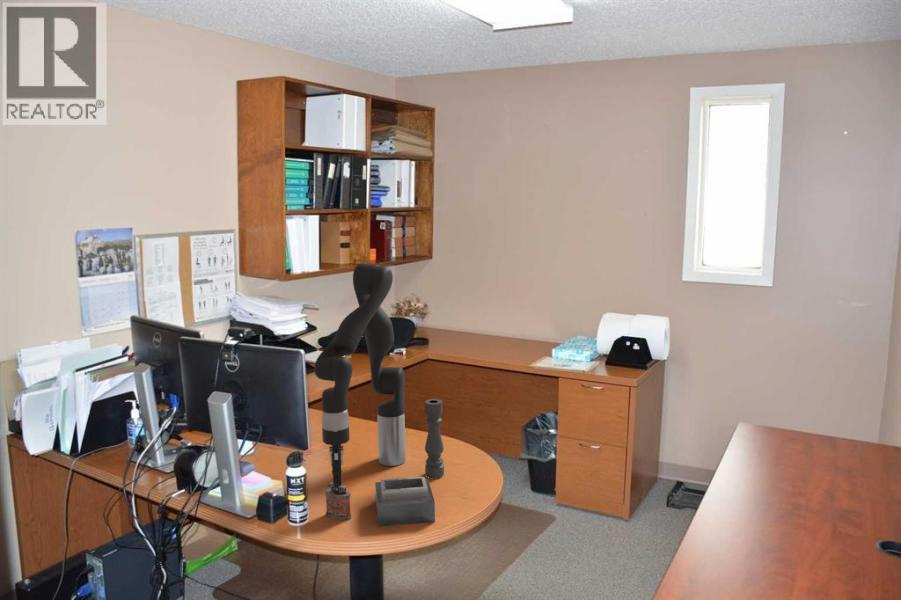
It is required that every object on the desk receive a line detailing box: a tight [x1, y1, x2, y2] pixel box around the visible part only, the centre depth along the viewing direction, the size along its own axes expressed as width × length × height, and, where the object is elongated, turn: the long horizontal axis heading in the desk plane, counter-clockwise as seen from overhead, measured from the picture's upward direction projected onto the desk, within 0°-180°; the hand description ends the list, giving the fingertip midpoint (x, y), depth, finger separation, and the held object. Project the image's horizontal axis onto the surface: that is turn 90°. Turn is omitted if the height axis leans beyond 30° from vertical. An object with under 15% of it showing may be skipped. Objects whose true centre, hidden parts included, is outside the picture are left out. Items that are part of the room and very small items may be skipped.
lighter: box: [324, 481, 352, 521], centre depth 203 cm, size 8×3×10 cm, turn 65°
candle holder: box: [424, 398, 445, 479], centre depth 230 cm, size 6×6×25 cm
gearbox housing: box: [374, 476, 436, 527], centre depth 206 cm, size 16×16×8 cm
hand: (337, 479), depth 202 cm, fingers open, 8 cm apart
